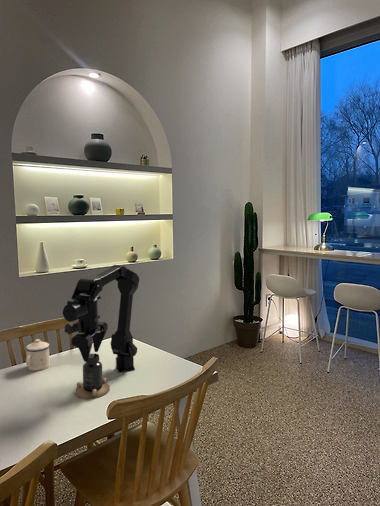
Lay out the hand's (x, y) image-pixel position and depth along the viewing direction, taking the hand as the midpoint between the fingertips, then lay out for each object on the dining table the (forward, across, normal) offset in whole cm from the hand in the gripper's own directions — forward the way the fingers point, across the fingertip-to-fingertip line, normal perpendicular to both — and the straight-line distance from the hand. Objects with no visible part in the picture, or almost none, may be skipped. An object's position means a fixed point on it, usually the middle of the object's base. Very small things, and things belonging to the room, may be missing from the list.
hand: (91, 356), depth 140 cm
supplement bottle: (+12, 0, 0) cm, 12 cm away
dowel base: (+13, 0, 0) cm, 13 cm away
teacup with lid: (+13, -16, -31) cm, 37 cm away
